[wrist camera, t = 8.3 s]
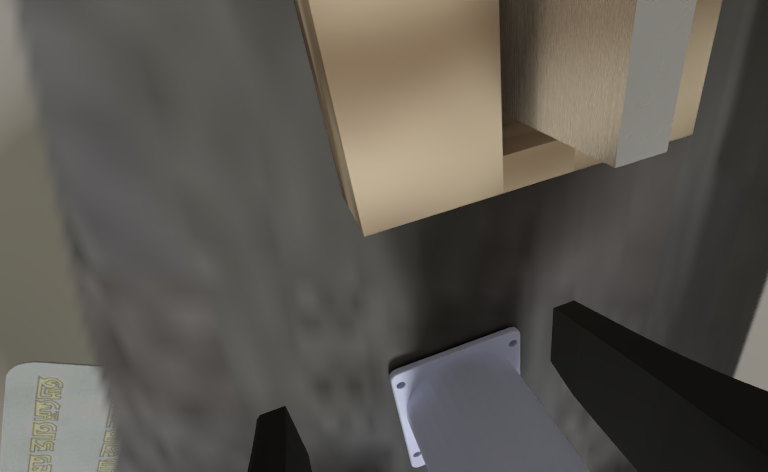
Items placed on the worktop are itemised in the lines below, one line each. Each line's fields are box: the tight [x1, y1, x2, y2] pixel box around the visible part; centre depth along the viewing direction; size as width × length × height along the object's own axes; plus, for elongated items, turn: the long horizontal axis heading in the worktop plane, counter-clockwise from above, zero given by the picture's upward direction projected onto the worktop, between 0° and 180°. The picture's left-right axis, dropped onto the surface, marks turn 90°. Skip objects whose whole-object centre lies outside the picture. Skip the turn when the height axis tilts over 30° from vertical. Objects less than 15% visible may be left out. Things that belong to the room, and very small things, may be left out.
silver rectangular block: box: [499, 0, 697, 168], centre depth 13 cm, size 5×2×7 cm, turn 9°
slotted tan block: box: [294, 0, 722, 237], centre depth 15 cm, size 10×14×4 cm
